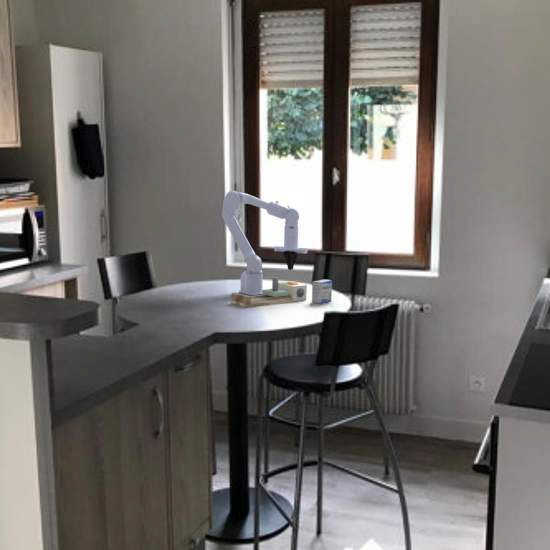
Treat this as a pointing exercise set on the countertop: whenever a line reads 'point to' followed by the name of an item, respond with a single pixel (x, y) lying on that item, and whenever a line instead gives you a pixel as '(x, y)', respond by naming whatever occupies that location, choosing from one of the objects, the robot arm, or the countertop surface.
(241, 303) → the rail track
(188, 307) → the countertop surface
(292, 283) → the button
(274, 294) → the carriage
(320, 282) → the medicine box
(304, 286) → the end cabinet
